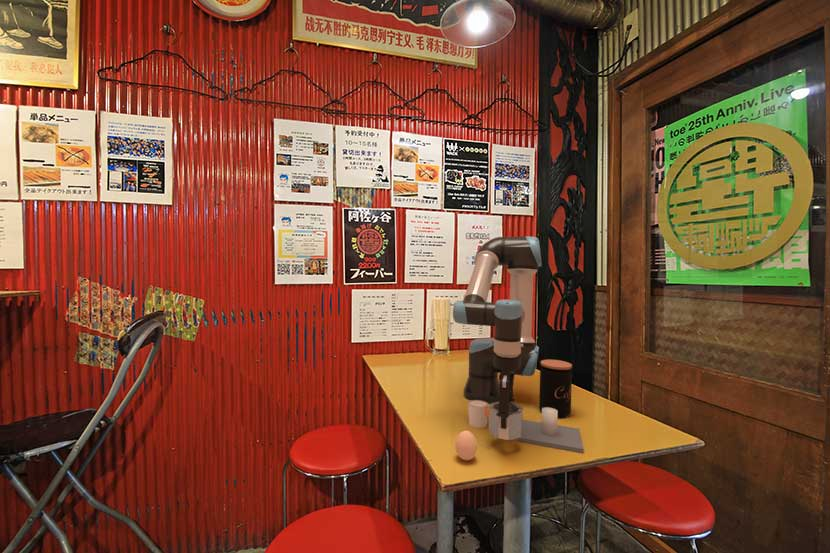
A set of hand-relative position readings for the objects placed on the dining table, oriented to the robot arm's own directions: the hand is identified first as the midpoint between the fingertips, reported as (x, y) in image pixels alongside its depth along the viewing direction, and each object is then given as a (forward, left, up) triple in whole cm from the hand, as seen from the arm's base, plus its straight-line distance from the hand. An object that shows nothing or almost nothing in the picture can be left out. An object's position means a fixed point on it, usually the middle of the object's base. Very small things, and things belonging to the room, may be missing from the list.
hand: (505, 430), depth 103 cm
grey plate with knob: (+12, +11, -4) cm, 17 cm away
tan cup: (-10, +11, -5) cm, 16 cm away
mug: (0, 0, 0) cm, 0 cm away
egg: (-9, -12, -5) cm, 16 cm away
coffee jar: (+14, +32, -5) cm, 35 cm away
